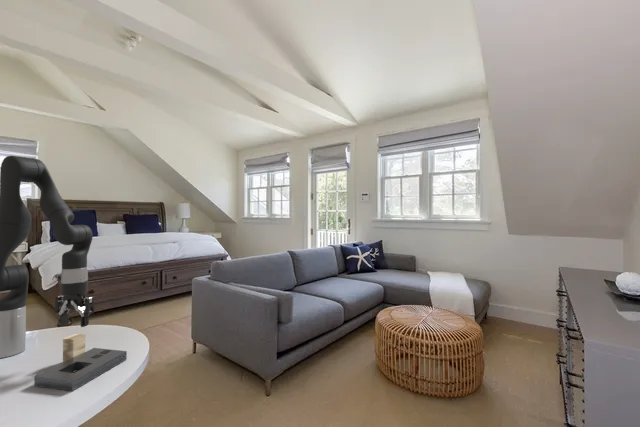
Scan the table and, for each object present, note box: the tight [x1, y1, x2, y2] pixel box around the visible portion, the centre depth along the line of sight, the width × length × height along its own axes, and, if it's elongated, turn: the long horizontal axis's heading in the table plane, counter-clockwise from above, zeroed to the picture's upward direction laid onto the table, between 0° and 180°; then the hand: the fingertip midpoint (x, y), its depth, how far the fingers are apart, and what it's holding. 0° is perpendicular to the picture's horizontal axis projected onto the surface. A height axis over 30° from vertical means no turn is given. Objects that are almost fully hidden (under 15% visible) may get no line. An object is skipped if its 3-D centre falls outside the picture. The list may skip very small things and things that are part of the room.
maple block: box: [62, 333, 86, 363], centre depth 107 cm, size 4×4×9 cm
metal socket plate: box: [33, 347, 128, 392], centre depth 101 cm, size 14×20×3 cm
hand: (74, 325), depth 107 cm, fingers open, 8 cm apart
